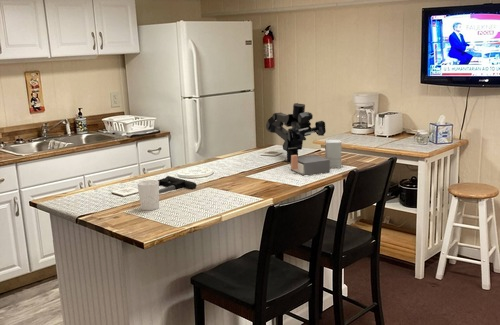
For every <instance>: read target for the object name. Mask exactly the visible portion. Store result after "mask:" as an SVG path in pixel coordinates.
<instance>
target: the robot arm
mask: <svg viewBox="0 0 500 325" xmlns="http://www.w3.org/2000/svg"><path fill="white" fill-rule="evenodd" d="M292 105H293V106H292V113H288V114H286V113H283V112H274V113H272V116H270V118H269V119H267V121H266V124H265V128H266V130H267V132H269V133H273V134H276V135H277V136H279V138H281V139H282V140H283V144H282V150H283V151H285V152H286V159H284V160H283V161H284V162H286V163H288V164H291V155H298V156H299V150H302V149H303V142H304V141H306V140H307V138H306V137H307V136H311V134H315V133H316V135H317V136H321V137H323V136H325V133H326V131H327V130H326V121H324V120H319V121H316V122H315V124H314V125H315V126H314V127H311V126H312V123H311V122H310V121H311V120H313V116H314V115H313V114H312V112H309V111H306V104H304V103H297V102H295V103H293V104H292ZM284 126H286V127H288V129H286V128H284ZM289 127H291V128H289Z"/></svg>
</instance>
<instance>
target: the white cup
mask: <svg viewBox="0 0 500 325" xmlns="http://www.w3.org/2000/svg"><path fill="white" fill-rule="evenodd" d="M137 190H138V198H139V202H140V203H139V204H140V209H141V210H143V211H154V210H157V209H159V208H160V193H159V190H160V186H159V181H157V179H145V180H141V181H138V182H137Z"/></svg>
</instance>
